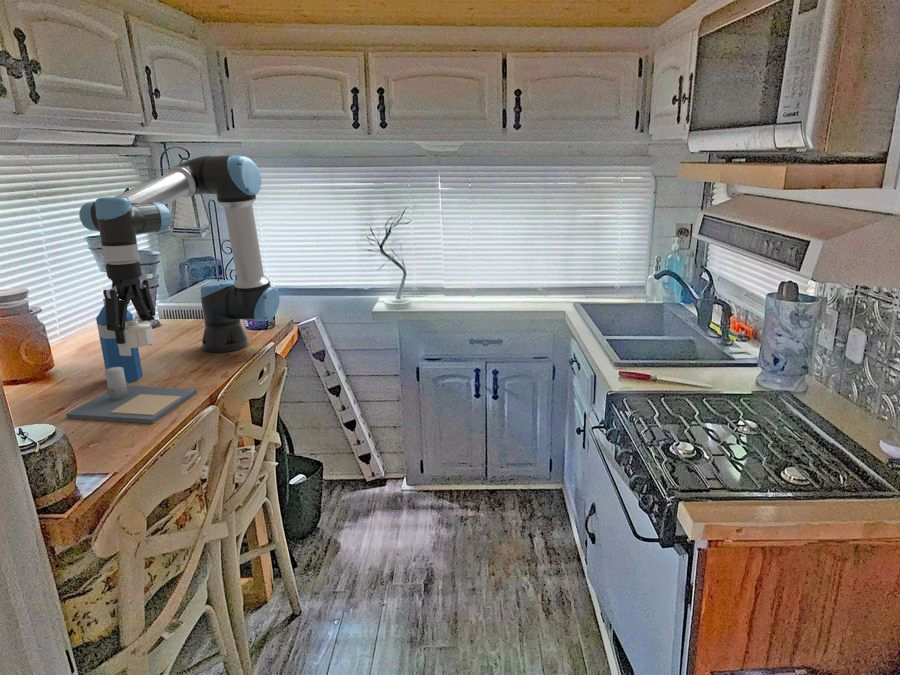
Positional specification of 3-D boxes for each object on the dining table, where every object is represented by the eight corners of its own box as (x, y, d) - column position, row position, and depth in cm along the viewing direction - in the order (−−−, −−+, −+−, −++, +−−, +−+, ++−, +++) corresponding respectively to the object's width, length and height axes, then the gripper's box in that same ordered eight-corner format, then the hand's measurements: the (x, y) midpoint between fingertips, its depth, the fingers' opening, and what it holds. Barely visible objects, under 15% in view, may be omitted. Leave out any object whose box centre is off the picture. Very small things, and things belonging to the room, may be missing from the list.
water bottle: (143, 380, 174) (129, 299, 167) (107, 386, 169) (92, 303, 162) (141, 371, 182) (128, 293, 174) (107, 376, 177) (92, 296, 170)
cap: (154, 337, 153) (151, 316, 152) (152, 345, 146) (148, 323, 145) (120, 340, 150) (116, 319, 149) (116, 349, 143) (112, 327, 142)
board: (119, 389, 167) (114, 358, 165) (197, 393, 164) (192, 362, 162) (66, 418, 148) (59, 384, 146) (153, 423, 145) (147, 389, 143)
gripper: (136, 255, 153) (149, 337, 159) (76, 268, 133) (94, 362, 139) (162, 255, 152) (174, 338, 158) (106, 269, 132) (123, 363, 138)
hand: (137, 349), depth 149 cm, fingers closed on cap, 8 cm apart
